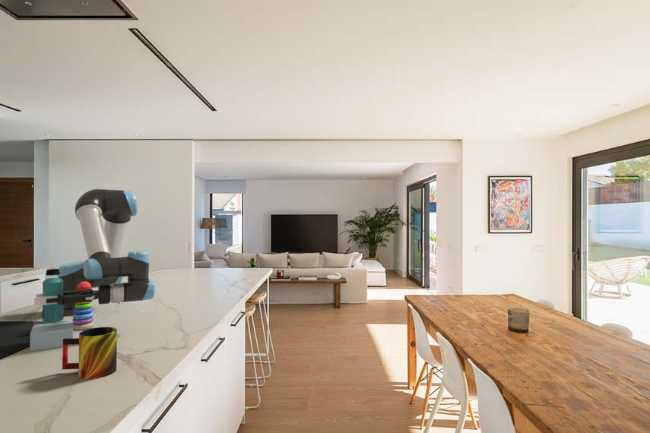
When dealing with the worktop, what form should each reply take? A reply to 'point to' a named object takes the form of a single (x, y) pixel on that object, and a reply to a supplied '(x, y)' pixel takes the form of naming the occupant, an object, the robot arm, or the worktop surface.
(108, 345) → the mug
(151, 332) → the worktop surface
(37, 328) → the block
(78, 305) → the stacking toy
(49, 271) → the beverage bottle
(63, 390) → the worktop surface
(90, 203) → the robot arm
